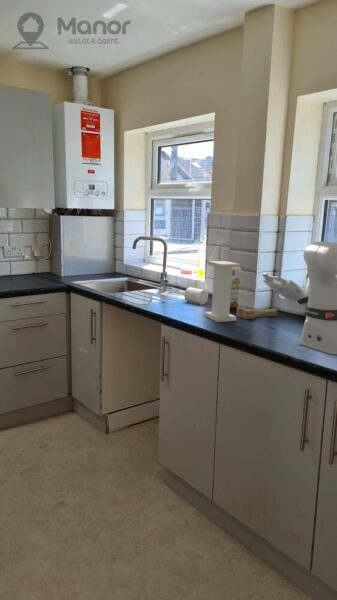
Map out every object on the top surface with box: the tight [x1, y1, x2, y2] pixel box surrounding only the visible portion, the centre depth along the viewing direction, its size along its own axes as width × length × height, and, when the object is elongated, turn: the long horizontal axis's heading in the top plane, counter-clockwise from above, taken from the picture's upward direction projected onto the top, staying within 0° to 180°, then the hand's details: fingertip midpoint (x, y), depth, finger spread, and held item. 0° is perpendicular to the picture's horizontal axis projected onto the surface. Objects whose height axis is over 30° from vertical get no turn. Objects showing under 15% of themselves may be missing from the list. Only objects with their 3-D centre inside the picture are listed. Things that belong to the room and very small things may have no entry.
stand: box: [203, 260, 241, 323], centre depth 207 cm, size 12×10×26 cm
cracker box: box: [230, 268, 242, 308], centre depth 236 cm, size 14×6×21 cm, turn 105°
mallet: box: [235, 306, 278, 320], centre depth 218 cm, size 8×20×4 cm, turn 114°
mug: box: [184, 286, 209, 305], centre depth 244 cm, size 12×10×8 cm
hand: (269, 275), depth 217 cm, fingers open, 8 cm apart
